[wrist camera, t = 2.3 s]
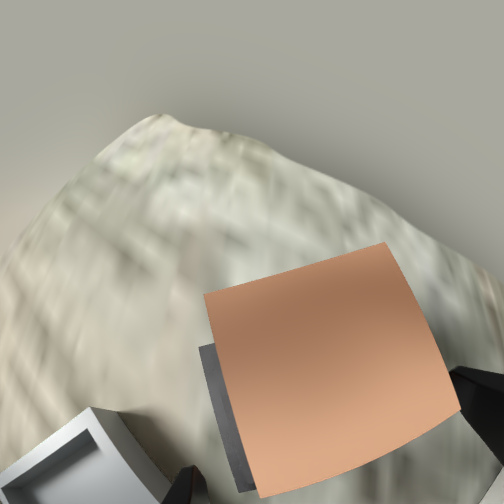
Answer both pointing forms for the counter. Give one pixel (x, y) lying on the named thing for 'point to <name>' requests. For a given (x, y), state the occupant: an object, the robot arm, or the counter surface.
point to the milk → (495, 491)
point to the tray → (86, 466)
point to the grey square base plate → (226, 419)
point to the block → (327, 367)
